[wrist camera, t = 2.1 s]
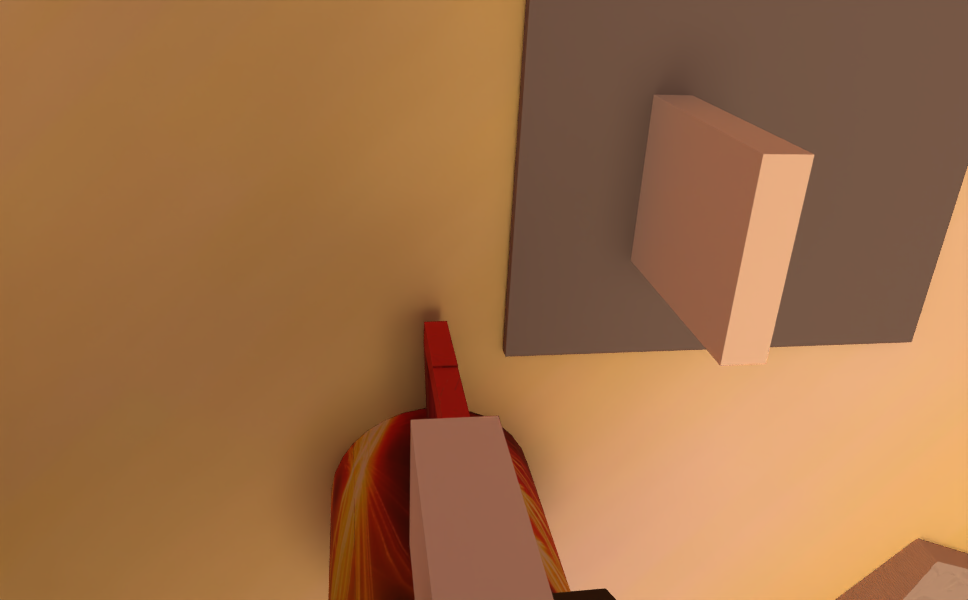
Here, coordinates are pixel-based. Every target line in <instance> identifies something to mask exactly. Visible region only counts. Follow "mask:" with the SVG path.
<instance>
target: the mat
mask: <svg viewBox="0 0 968 600" xmlns="http://www.w3.org/2000/svg"><path fill="white" fill-rule="evenodd" d="M654 95H693V96H695V97H697V98H699V99H701V100H703V101H705V102H707V103H709V104H711V105H713V106H715V107H718V108H720V109H722V110H724V111H726V112H728V113H730V114H732V115H734V116H736V117H738V118H740V119H742V120H744V121H746V122H748V123H750V124H753V125H755V126H757V127H759V128H761V129H763V130H765V131H767V132H769V133H771V134H773V135H775V136H777V137H779V138H781V139H783V140H786V141H788V142H790V143H792V144H794V145H796V146H798V147H800V148H802V149H804V150H806V151H808V152H810V153H812V154H814V159H813V163H812V168H811V172H810V176H809V181H808V185H807V189H806V194H805V198H804V202H803V206H802V211H801V215H800V219H799V224H798V228H797V232H796V237H795V241H794V245H793V250H792V254H791V258H790V263H789V267H788V271H787V275H786V280H785V284H784V288H783V293H782V297H781V301H780V306H779V310H778V314H777V319H776V323H775V327H774V332H773V336H772V340H771V344H770V347H787V346H816V345H844V344H872V343H900V342H912V339H913V336H914V332H915V329H916V326H917V323H918V320H919V317H920V314H921V310H922V307H923V304H924V301H925V298H926V295H927V292H928V289H929V285H930V282H931V279H932V276H933V273H934V270H935V267H936V263H937V260H938V257H939V254H940V251H941V248H942V245H943V241H944V238H945V235H946V232H947V229H948V226H949V223H950V219H951V216H952V213H953V210H954V207H955V204H956V201H957V197H958V194H959V191H960V188H961V185H962V182H963V179H964V176H965V172H966V169H967V166H968V0H526V12H525V27H524V42H523V57H522V72H521V87H520V102H519V117H518V132H517V147H516V162H515V177H514V192H513V207H512V222H511V237H510V252H509V267H508V282H507V297H506V312H505V327H504V342H503V351H504V354H505V356H533V355H562V354H590V353H618V352H646V351H674V350H703V349H706V348H705V347H704V346H703V345H702V344H701V342H700V341H699V340H698V339H697V338H696V337H695V335H694V334H693V333H692V332H691V331H690V329H689V328H688V327H687V326H686V325H685V324H684V322H683V321H682V320H681V319H680V318H679V317H678V315H677V314H676V313H675V312H674V311H673V310H672V308H671V307H670V306H669V305H668V304H667V302H666V301H665V300H664V299H663V298H662V297H661V295H660V294H659V293H658V292H657V291H656V290H655V288H654V287H653V286H652V285H651V284H650V282H649V281H648V280H647V279H646V278H645V277H644V275H643V274H642V273H641V272H640V271H639V270H638V268H637V267H636V266H635V265H634V264H633V263H632V261H631V256H632V248H633V241H634V234H635V227H636V219H637V212H638V205H639V198H640V191H641V183H642V176H643V169H644V162H645V154H646V147H647V140H648V133H649V125H650V118H651V111H652V104H653V97H654Z"/></svg>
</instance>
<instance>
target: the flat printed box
mask: <svg viewBox="0 0 968 600" xmlns="http://www.w3.org/2000/svg"><path fill="white" fill-rule="evenodd" d="M836 600H968V554H967V553H965V552H960V551H957V550H954V549H951V548H947V547H943V546H940V545H937V544H934V543H930V542H927V541H924V540H920V539H916V540H915V541H913V542H912V543H910V544H909V545H908V546H906V547H905V548H904V549H903V550H901V551H900V552H898V553H897V554H896V555H895V556H893V557H892V558H891V559H890V560H888V561H886V562H885V563H884V564H883V565H881V566H880V567H878V568H877V569H876V570H875V571H873V572H872V573H871V574H869V575H868V576H866V577H865V578H864V579H863V580H861V581H860V582H858V583H857V584H856V585H854V586H853V587H852V588H851V589H849V590H848V591H846V592H845V593H844V594H843V595H841V596H840V597H838V598H837V599H836Z"/></svg>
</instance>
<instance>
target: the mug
mask: <svg viewBox="0 0 968 600" xmlns="http://www.w3.org/2000/svg"><path fill="white" fill-rule="evenodd" d="M424 361H425V384H426V408H424V409H419V410H415V411H410V412H405V413H402V414H400V415H397V416H395V417H392V418H389V419H387V420H385V421H383V422H381V423H380V424H378V425H376V426H375V427H373V428H371V429H370V430H368V431H367V432H366V433H365V434H363V435H362V436H361V437H360V438H359V439H358V440H357V441H355V442H354V443H353V445H352V446H351V447H350V449H349V450H348V451H347V452H346V454H345V455H344V456H343V458H342V460H341V462H340V464H339V466H338V468H337V470H336V472H335V476H334V481H333V486H332V496H331V531H330V566H329V600H415V596H414V586H413V575H412V565H411V554H410V440H411V420H418V419H440V418H461V417H483V416H482V415H479V414H476V413H473V412H469V411H468V407H467V403H466V399H465V395H464V391H463V387H462V383H461V379H460V375H459V371H458V364H457V360H456V356H455V352H454V348H453V344H452V340H451V336H450V332H449V328H448V324H447V321H435V322H424ZM502 430H503V433H504V436H505V440H506V443H507V446H508V450H509V453H510V456H511V459H512V463H513V466H514V469H515V473H516V476H517V479H518V483H519V486H520V489H521V493H522V496H523V499H524V503H525V506H526V509H527V513H528V516H529V519H530V523H531V526H532V529H533V533H534V536H535V539H536V542H537V546H538V549H539V552H540V556H541V559H542V562H543V566H544V569H545V572H546V576H547V579H548V582H549V586H550V589H551V592H552V593H559V592H570V589H569V586H568V583H567V580H566V577H565V574H564V571H563V568H562V565H561V562H560V559H559V556H558V553H557V550H556V547H555V544H554V541H553V538H552V535H551V532H550V529H549V526H548V523H547V520H546V517H545V514H544V511H543V508H542V505H541V502H540V499H539V496H538V493H537V490H536V487H535V484H534V481H533V478H532V475H531V473H530V470H529V467H528V464H527V461H526V459H525V456H524V454H523V451H522V449H521V447H520V446H519V445H518V443H517V442H516V441H515V439H514V438H513V437H512V435H511V434H509V433H508V432H507V431H506V430H505V429H504V428H502Z"/></svg>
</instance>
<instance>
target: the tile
mask: <svg viewBox="0 0 968 600" xmlns="http://www.w3.org/2000/svg"><path fill="white" fill-rule="evenodd" d="M813 159H814V154H812V153H810V152H808V151H806V150H804V149H802V148H800V147H798V146H796V145H794V144H792V143H790V142H788V141H786V140H783V139H781V138H779V137H777V136H775V135H773V134H771V133H769V132H767V131H765V130H763V129H761V128H759V127H757V126H755V125H753V124H750V123H748V122H746V121H744V120H742V119H740V118H738V117H736V116H734V115H732V114H730V113H728V112H726V111H724V110H722V109H720V108H718V107H715V106H713V105H711V104H709V103H707V102H705V101H703V100H701V99H699V98H697V97H695V96H693V95H654V97H653V104H652V111H651V118H650V125H649V133H648V140H647V147H646V154H645V162H644V169H643V176H642V183H641V191H640V198H639V205H638V212H637V219H636V227H635V234H634V241H633V248H632V256H631V261H632V263H633V264H634V265H635V266H636V267H637V268H638V270H639V271H640V272H641V273H642V274H643V275H644V277H645V278H646V279H647V280H648V281H649V282H650V284H651V285H652V286H653V287H654V288H655V290H656V291H657V292H658V293H659V294H660V295H661V297H662V298H663V299H664V300H665V301H666V302H667V304H668V305H669V306H670V307H671V308H672V310H673V311H674V312H675V313H676V314H677V315H678V317H679V318H680V319H681V320H682V321H683V322H684V324H685V325H686V326H687V327H688V328H689V329H690V331H691V332H692V333H693V334H694V335H695V337H696V338H697V339H698V340H699V341H700V342H701V344H702V345H703V346H704V347H705V348H706V349H707V351H708V352H709V353H710V354H711V355H712V357H713V358H714V359H715V360H716V361H717V362H718V364H719V365H720V366H727V365H752V364H766V362H767V357H768V353H769V349H770V344H771V340H772V336H773V332H774V327H775V323H776V319H777V314H778V310H779V306H780V301H781V297H782V293H783V288H784V284H785V280H786V275H787V271H788V267H789V263H790V258H791V254H792V250H793V245H794V241H795V237H796V232H797V228H798V224H799V219H800V215H801V211H802V206H803V202H804V198H805V194H806V189H807V185H808V181H809V176H810V172H811V168H812V163H813Z"/></svg>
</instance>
